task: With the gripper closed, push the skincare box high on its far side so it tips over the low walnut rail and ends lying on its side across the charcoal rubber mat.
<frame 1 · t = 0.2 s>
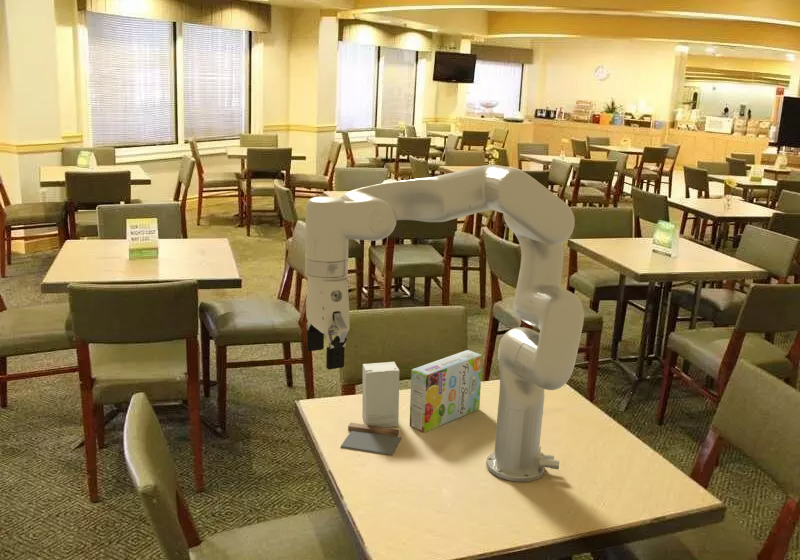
hand: (324, 358, 136), 31 cm above the table, tool pointing down, fingers open, 9 cm apart
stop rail: (373, 432, 177), on the table
snack box: (444, 418, 187), on the table
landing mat: (371, 443, 172), on the table
skincare box: (379, 423, 183), on the table
butter knife: (532, 418, 190), on the table
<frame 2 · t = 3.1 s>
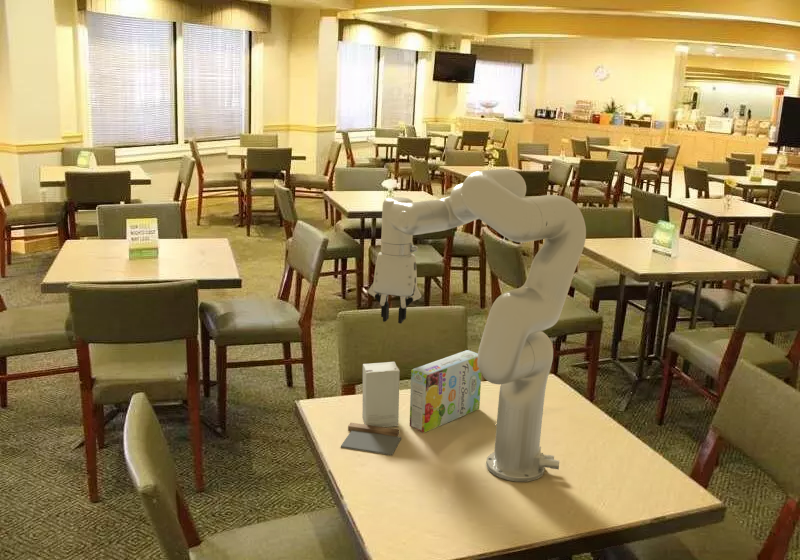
hand: (393, 320, 186), 23 cm above the table, tool pointing down, fingers open, 3 cm apart
nothing on the table moved.
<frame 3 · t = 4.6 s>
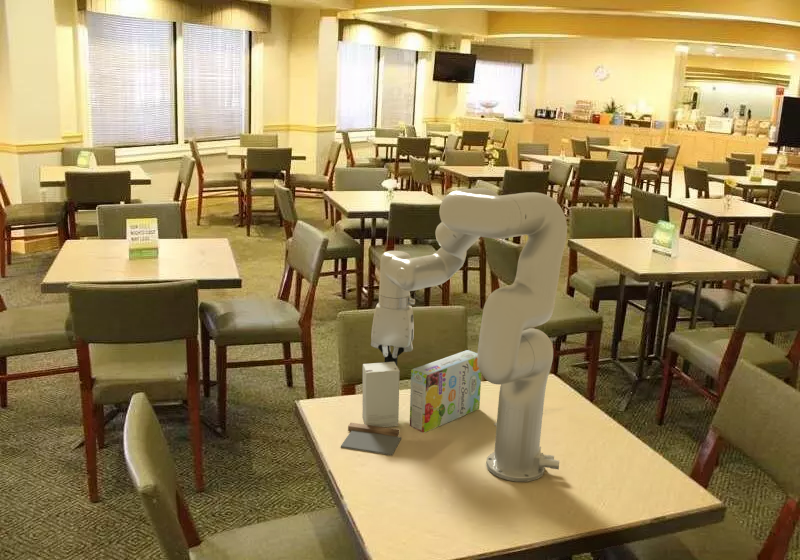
hand: (390, 370, 190), 10 cm above the table, tool pointing down, fingers closed
nothing on the table moved.
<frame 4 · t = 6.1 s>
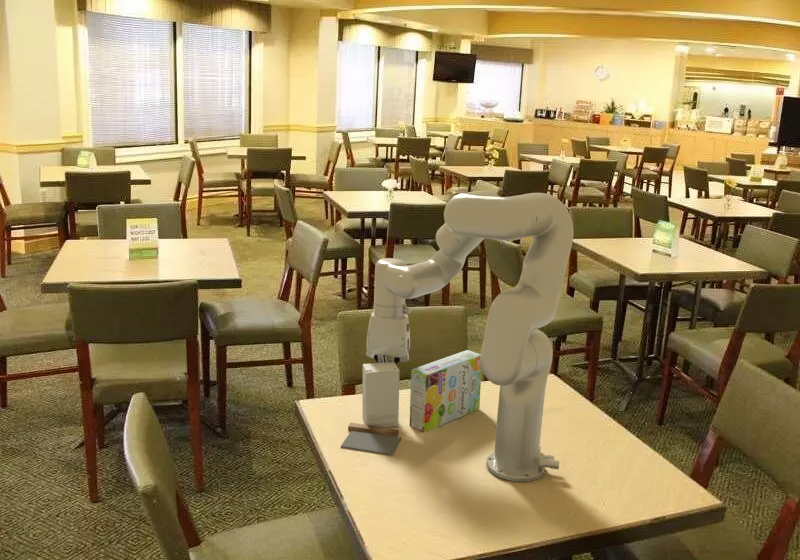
hand: (386, 380, 185), 9 cm above the table, tool pointing down, fingers closed
skincare box: (379, 423, 183), on the table, touching gripper
everything else where it was.
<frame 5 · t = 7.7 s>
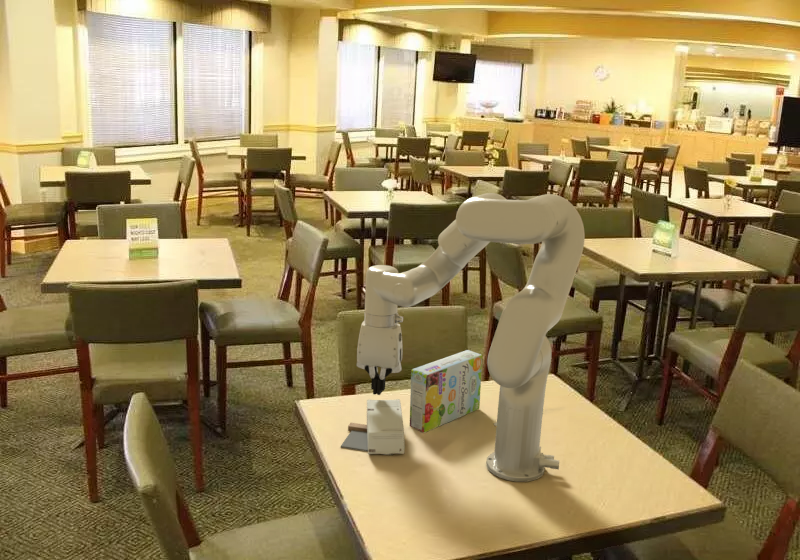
hand: (378, 392, 178), 9 cm above the table, tool pointing down, fingers closed
skincare box: (382, 409, 179), point 5 cm above the table, touching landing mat, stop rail
everything else where it was.
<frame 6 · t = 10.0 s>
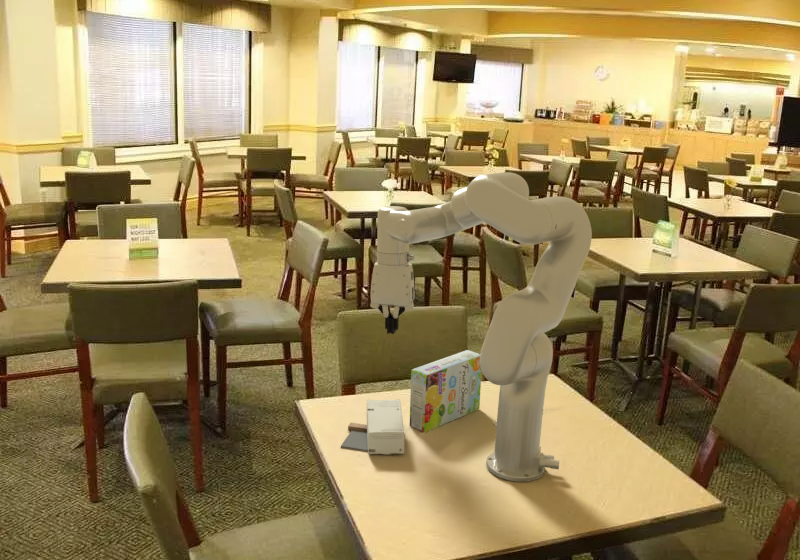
hand: (391, 332, 183), 21 cm above the table, tool pointing down, fingers closed
nothing on the table moved.
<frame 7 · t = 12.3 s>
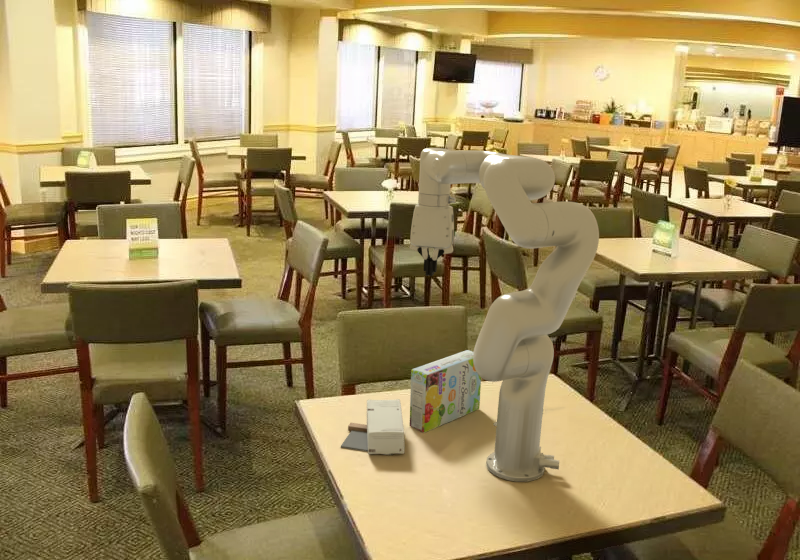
hand: (429, 274, 184), 35 cm above the table, tool pointing down, fingers closed
nothing on the table moved.
at the end: skincare box tilted 95°; skincare box inside the target area (7.2 cm from its centre), point 4.5 cm above the table; the gripper is holding nothing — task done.
